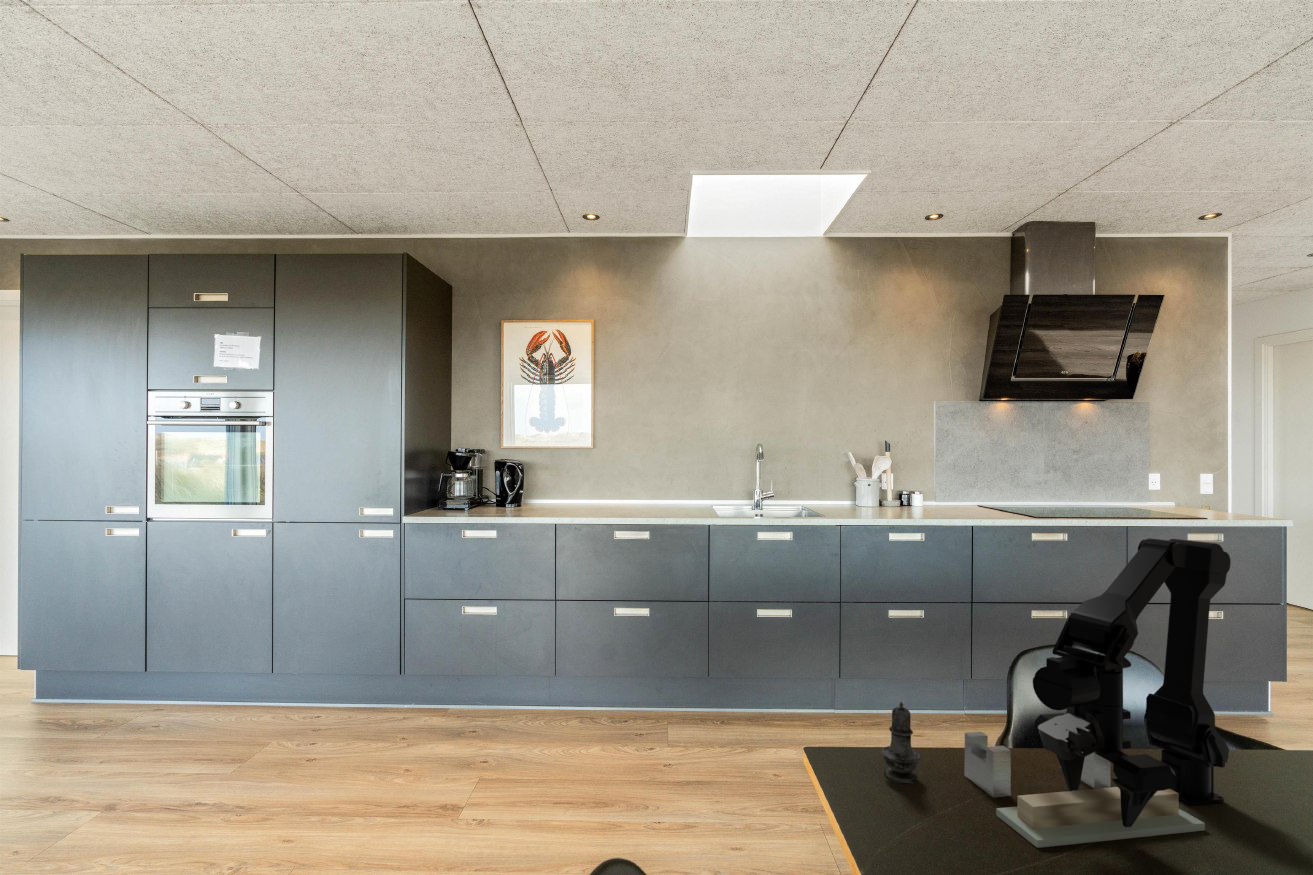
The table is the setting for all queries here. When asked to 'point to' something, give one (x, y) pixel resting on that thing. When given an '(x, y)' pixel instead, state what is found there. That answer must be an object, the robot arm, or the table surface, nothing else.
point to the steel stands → (995, 766)
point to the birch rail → (1087, 807)
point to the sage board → (1100, 829)
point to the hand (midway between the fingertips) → (1099, 808)
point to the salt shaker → (901, 748)
